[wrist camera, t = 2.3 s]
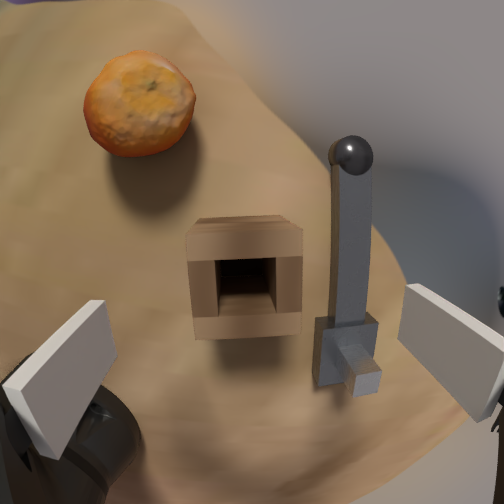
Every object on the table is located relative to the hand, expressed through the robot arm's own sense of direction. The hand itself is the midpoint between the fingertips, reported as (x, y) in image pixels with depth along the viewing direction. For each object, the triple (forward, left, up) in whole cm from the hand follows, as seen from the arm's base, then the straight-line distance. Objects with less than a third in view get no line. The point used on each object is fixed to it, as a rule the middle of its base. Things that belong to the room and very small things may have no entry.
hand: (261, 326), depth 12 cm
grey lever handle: (+9, -1, -13) cm, 16 cm away
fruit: (-7, +12, -13) cm, 19 cm away
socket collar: (0, 0, -13) cm, 13 cm away
